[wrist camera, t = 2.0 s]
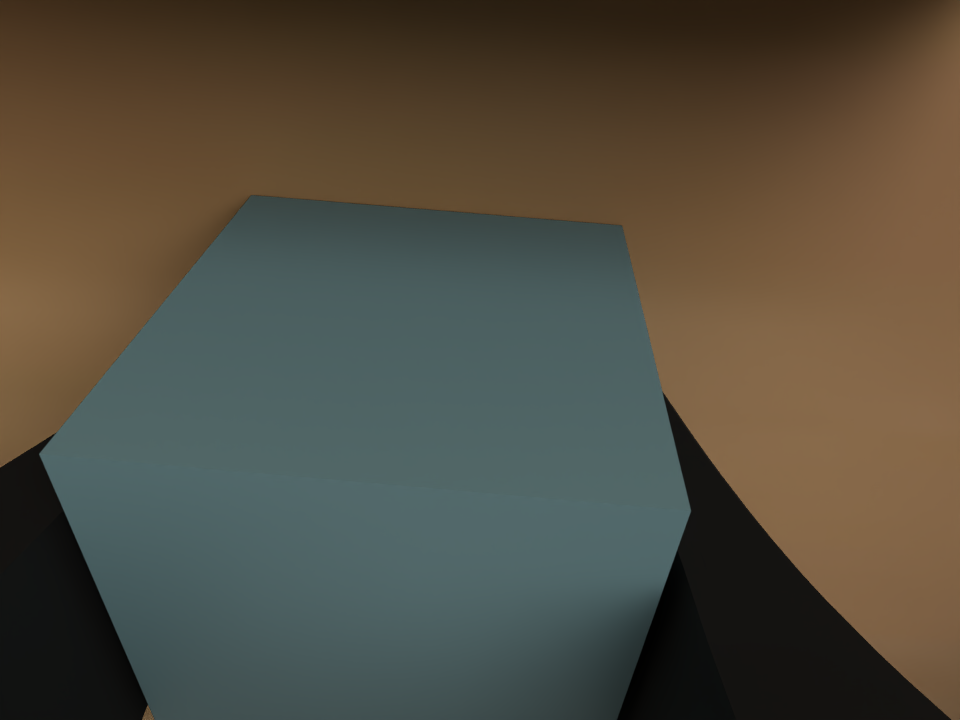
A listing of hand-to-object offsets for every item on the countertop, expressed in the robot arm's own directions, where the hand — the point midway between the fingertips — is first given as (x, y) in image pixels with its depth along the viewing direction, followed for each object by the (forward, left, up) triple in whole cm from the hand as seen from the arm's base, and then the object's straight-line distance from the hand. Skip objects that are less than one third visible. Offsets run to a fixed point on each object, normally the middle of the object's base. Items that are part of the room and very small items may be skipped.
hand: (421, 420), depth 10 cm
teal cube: (0, 0, -1) cm, 1 cm away
